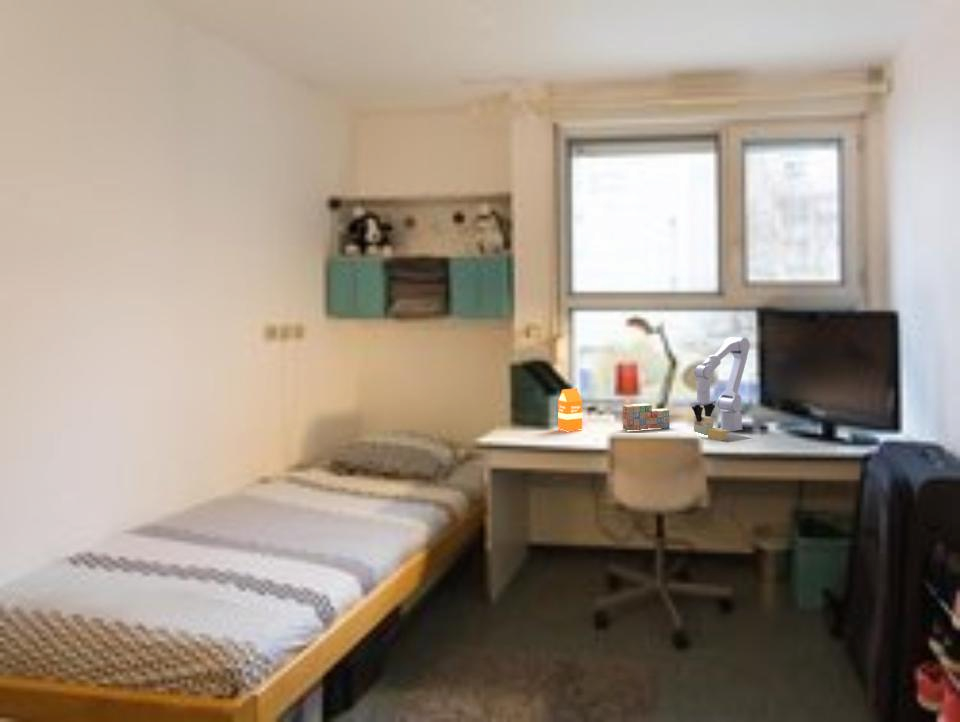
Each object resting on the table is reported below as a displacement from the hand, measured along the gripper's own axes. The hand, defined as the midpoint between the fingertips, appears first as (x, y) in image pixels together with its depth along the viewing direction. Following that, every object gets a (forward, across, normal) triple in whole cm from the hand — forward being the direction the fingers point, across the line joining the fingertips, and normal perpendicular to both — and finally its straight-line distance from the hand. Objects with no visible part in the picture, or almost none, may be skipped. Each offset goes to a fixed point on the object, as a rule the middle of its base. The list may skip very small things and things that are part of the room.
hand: (703, 420), depth 406 cm
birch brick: (+2, 0, 0) cm, 2 cm away
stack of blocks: (+7, -12, +26) cm, 29 cm away
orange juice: (+7, -42, +46) cm, 63 cm away
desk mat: (+6, +2, -8) cm, 10 cm away
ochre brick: (+6, -3, -12) cm, 14 cm away
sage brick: (+6, 0, 0) cm, 6 cm away
